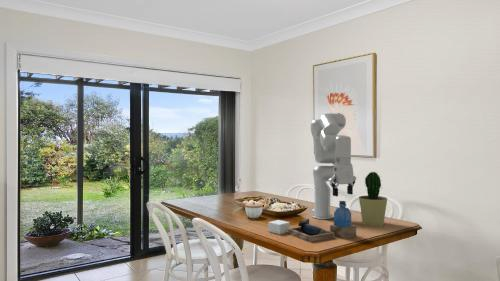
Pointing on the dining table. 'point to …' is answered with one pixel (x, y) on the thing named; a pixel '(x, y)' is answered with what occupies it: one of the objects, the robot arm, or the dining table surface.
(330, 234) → the wooden tray
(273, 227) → the grey block
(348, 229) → the walnut block
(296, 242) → the dining table surface
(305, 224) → the navy pump bottle
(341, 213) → the perfume bottle
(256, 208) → the filled white bowl
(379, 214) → the potted cactus
